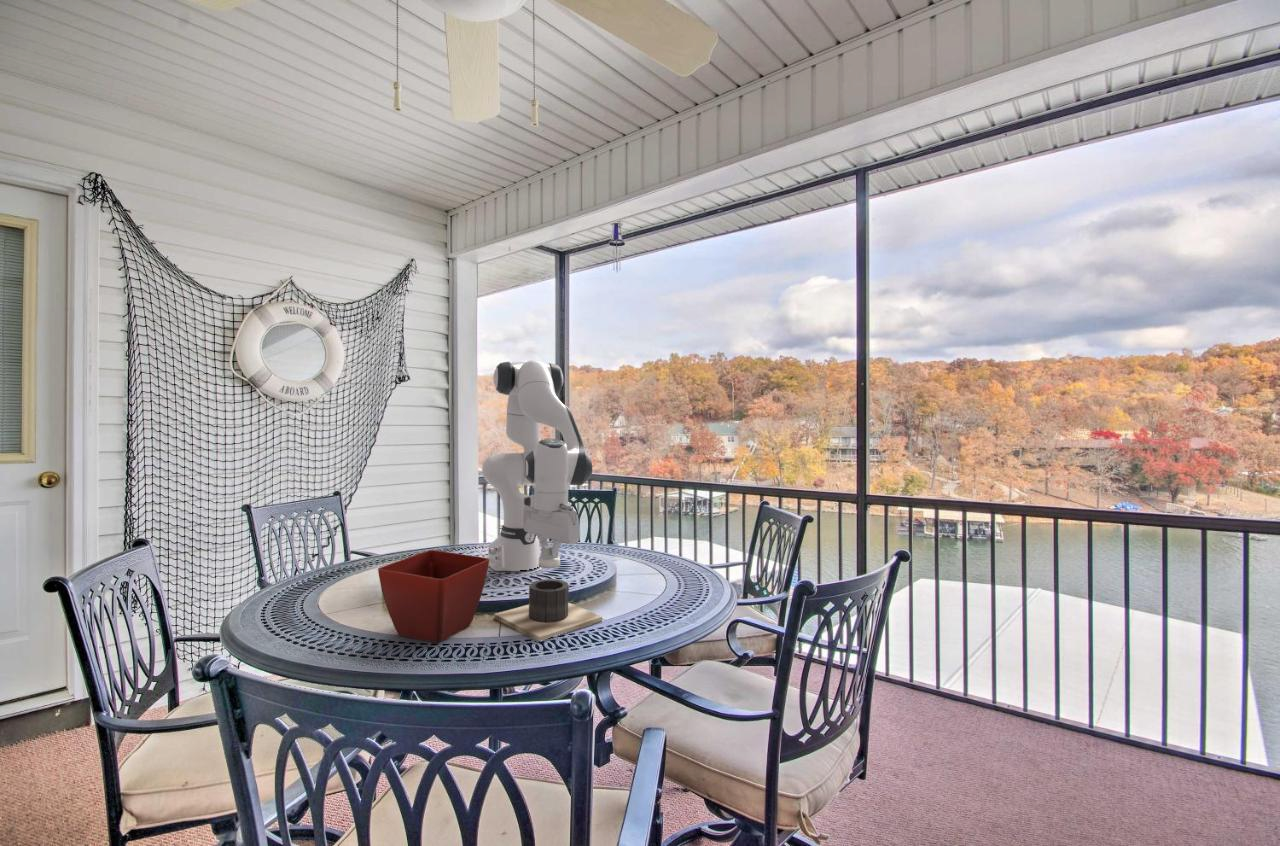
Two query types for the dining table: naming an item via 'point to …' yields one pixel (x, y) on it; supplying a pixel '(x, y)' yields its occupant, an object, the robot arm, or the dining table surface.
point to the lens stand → (547, 612)
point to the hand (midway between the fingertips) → (549, 554)
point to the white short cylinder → (548, 558)
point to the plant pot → (433, 593)
